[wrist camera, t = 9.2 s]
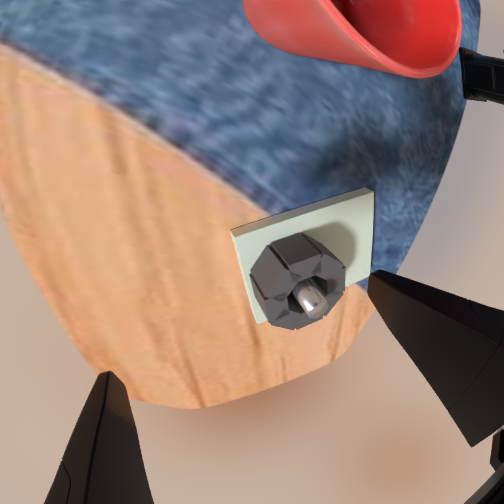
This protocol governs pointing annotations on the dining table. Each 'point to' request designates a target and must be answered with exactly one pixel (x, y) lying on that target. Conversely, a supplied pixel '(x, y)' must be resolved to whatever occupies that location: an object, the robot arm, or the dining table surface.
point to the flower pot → (364, 32)
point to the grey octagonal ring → (295, 278)
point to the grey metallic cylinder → (310, 298)
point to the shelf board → (314, 235)
